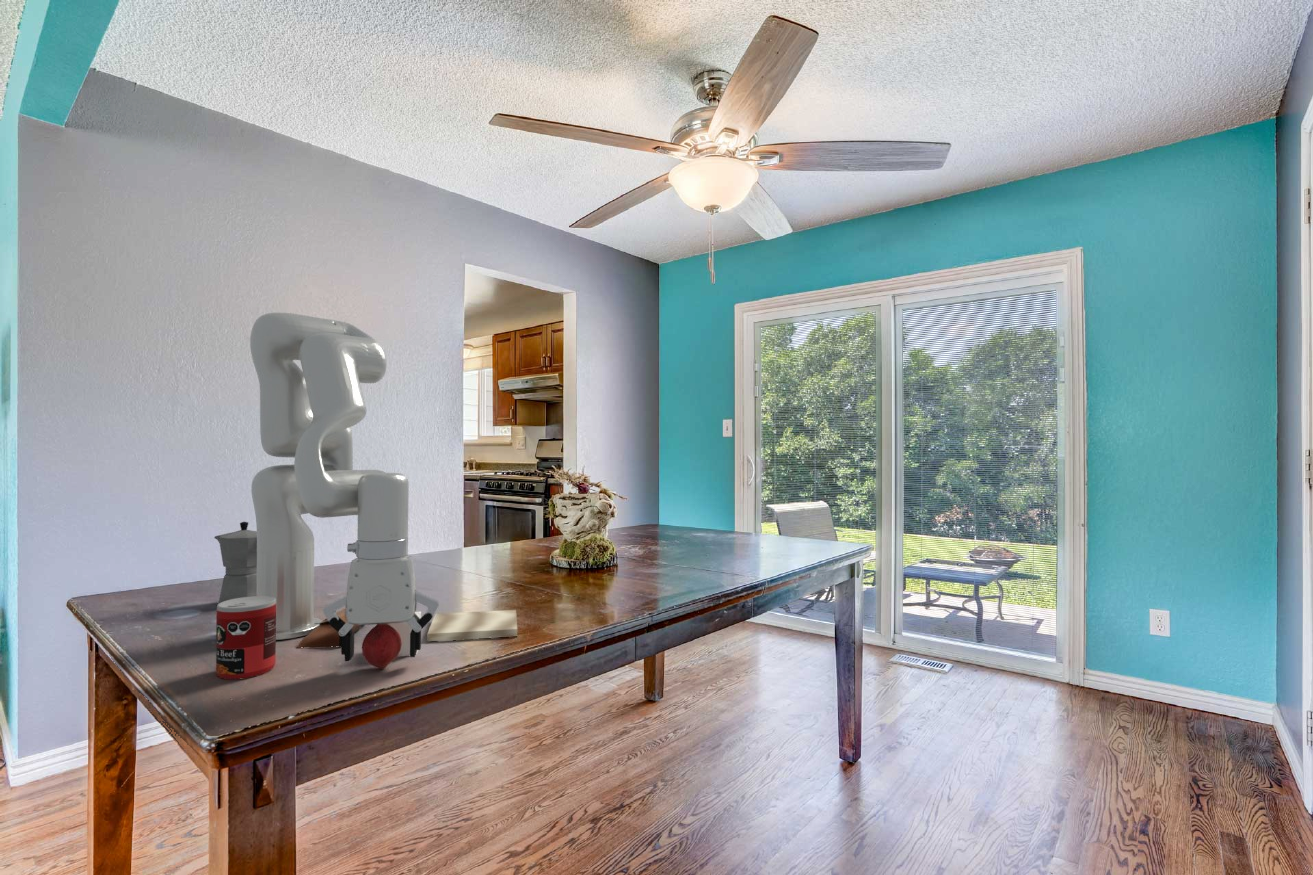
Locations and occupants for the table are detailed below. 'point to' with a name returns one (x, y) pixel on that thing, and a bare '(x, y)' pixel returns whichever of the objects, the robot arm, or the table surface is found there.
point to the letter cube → (404, 635)
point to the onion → (381, 645)
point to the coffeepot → (239, 563)
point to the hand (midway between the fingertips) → (381, 656)
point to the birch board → (472, 625)
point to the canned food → (245, 637)
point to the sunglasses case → (325, 634)
